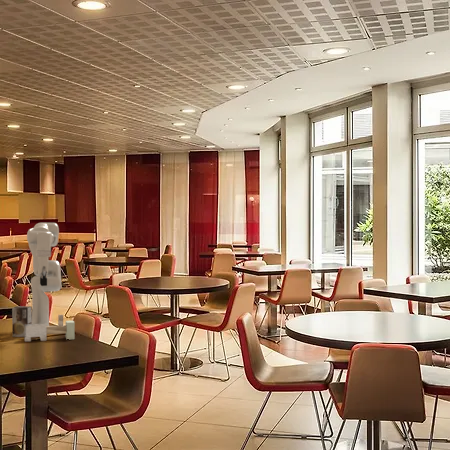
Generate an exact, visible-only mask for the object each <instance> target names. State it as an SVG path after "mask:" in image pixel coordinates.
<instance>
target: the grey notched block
mask: <svg viewBox="0 0 450 450" xmlns="http://www.w3.org/2000/svg"><path fill="white" fill-rule="evenodd" d="M38 337H39V340H40V342H45V341H47V340H48V339H47V337H48V334H47V325H46V324H25V337H24V342H32V338H38Z"/></svg>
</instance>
